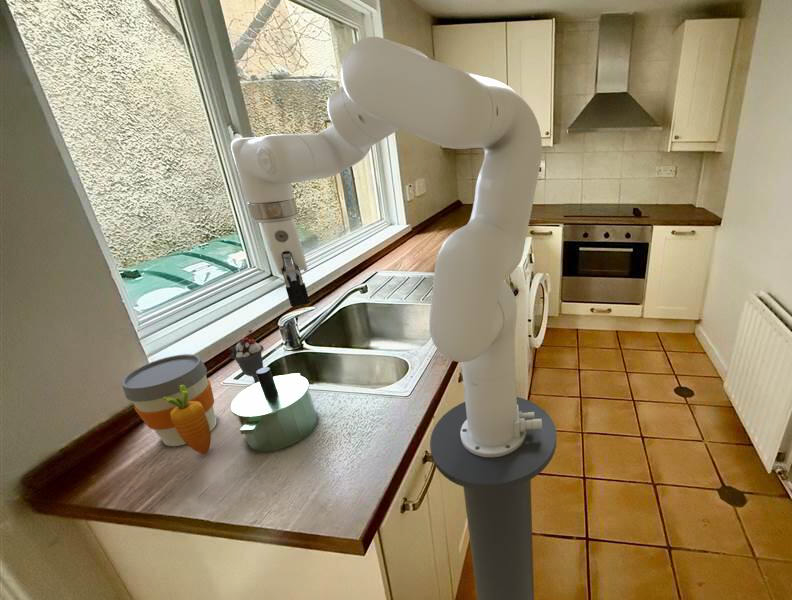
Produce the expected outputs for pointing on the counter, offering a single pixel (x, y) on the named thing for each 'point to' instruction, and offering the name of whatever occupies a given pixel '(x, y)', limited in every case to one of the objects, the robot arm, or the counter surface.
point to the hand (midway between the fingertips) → (298, 296)
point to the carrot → (190, 422)
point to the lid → (269, 394)
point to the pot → (280, 426)
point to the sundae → (248, 356)
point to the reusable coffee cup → (168, 392)
